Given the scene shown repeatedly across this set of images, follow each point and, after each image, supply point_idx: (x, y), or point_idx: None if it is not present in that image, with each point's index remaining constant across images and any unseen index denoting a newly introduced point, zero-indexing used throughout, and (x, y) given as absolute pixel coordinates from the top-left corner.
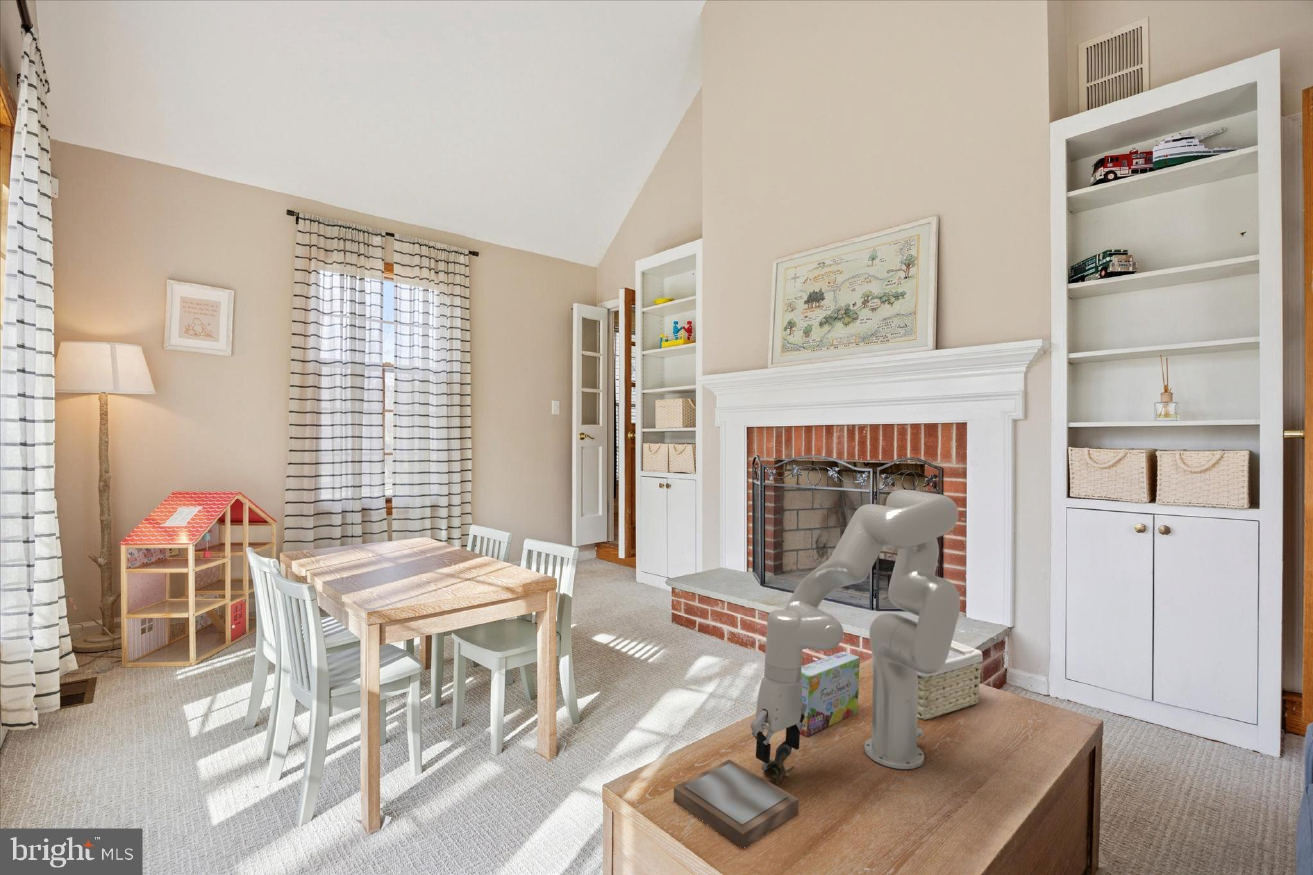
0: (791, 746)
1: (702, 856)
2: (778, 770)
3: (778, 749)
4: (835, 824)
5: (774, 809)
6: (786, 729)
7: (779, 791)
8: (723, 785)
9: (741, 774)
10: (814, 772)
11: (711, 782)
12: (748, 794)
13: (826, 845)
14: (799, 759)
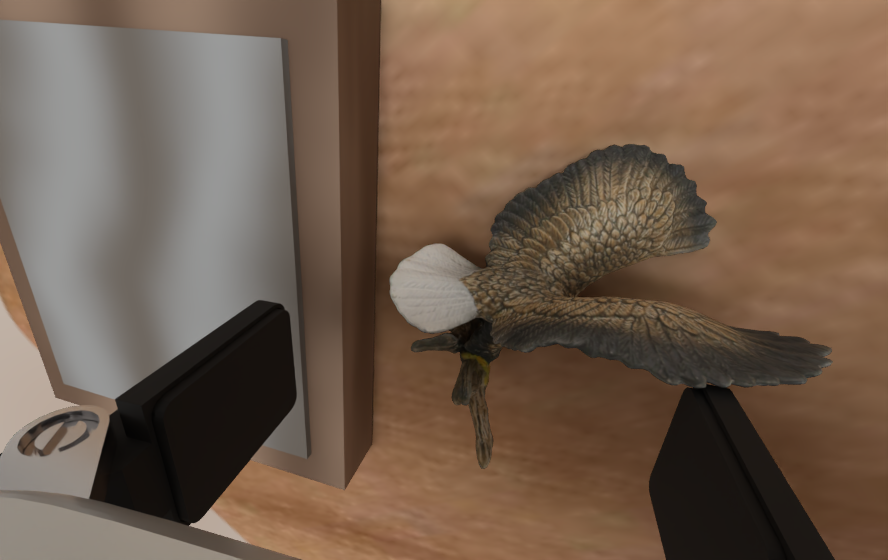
0: (664, 447)
1: (3, 293)
2: (465, 347)
3: (593, 332)
4: (414, 549)
5: None
6: (752, 524)
7: (320, 412)
8: (117, 181)
9: (258, 195)
10: (748, 416)
11: (73, 110)
12: (178, 320)
13: (311, 540)
14: (882, 290)
